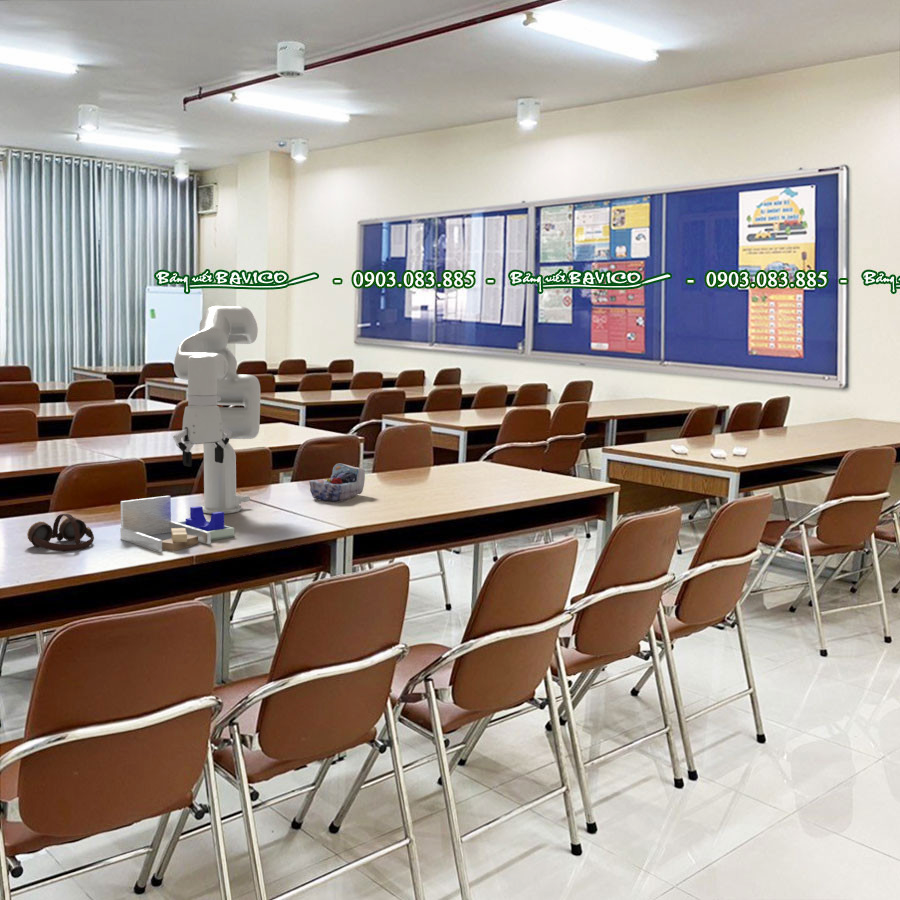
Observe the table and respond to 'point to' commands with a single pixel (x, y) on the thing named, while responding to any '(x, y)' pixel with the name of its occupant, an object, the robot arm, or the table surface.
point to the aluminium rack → (152, 522)
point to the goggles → (60, 534)
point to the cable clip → (200, 521)
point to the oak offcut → (179, 534)
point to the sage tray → (218, 532)
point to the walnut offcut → (179, 543)
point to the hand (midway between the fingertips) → (203, 464)
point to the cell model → (339, 484)
